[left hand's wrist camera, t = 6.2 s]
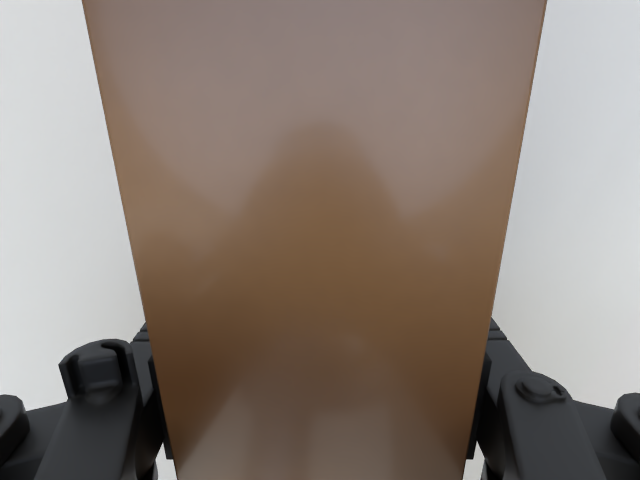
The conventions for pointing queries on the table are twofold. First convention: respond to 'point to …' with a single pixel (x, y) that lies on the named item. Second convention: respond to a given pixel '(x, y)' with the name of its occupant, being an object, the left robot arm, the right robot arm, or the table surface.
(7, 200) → the table surface
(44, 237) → the table surface
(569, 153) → the table surface
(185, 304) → the bar
